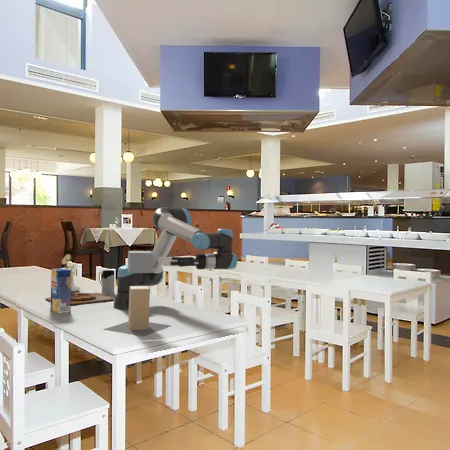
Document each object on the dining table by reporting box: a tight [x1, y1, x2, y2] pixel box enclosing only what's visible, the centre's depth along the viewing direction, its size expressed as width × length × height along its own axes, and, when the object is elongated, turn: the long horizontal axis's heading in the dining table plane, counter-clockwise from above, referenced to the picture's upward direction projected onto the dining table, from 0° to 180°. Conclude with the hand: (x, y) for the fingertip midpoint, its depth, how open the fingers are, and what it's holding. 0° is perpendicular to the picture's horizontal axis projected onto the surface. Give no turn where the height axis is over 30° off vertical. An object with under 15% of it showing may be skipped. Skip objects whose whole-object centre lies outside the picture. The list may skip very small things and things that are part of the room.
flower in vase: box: [61, 254, 81, 293], centre depth 289 cm, size 13×11×25 cm
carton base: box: [127, 286, 151, 330], centre depth 198 cm, size 8×8×18 cm
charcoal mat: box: [102, 321, 172, 337], centre depth 198 cm, size 22×22×1 cm
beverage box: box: [49, 267, 73, 314], centre depth 230 cm, size 7×11×22 cm, turn 40°
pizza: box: [45, 292, 116, 306], centre depth 261 cm, size 35×28×4 cm
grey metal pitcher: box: [98, 269, 116, 296], centre depth 286 cm, size 9×14×15 cm, turn 53°
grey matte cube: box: [127, 250, 153, 273], centre depth 198 cm, size 10×10×9 cm
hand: (160, 261), depth 201 cm, fingers open, 13 cm apart
